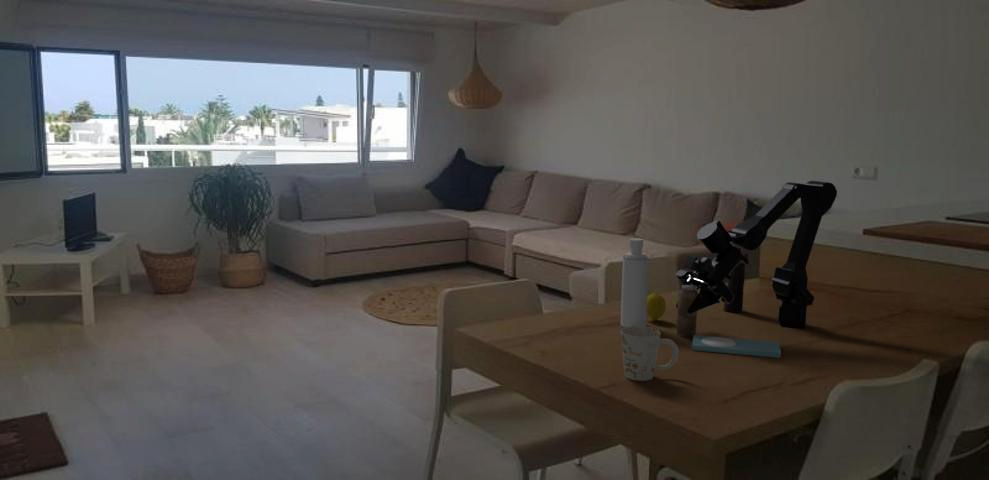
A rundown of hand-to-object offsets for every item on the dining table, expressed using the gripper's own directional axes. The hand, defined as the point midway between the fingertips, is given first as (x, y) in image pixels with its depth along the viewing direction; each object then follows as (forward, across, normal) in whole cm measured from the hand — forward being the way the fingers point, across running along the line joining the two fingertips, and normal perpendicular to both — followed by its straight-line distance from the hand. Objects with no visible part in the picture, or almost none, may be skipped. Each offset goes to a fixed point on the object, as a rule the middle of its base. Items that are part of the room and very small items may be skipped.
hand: (682, 310), depth 192 cm
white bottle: (+10, -12, 0) cm, 15 cm away
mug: (+22, +25, -12) cm, 36 cm away
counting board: (0, +14, +9) cm, 17 cm away
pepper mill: (+4, 0, +6) cm, 7 cm away
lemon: (+4, -15, +5) cm, 16 cm away
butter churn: (-15, -18, +24) cm, 33 cm away
